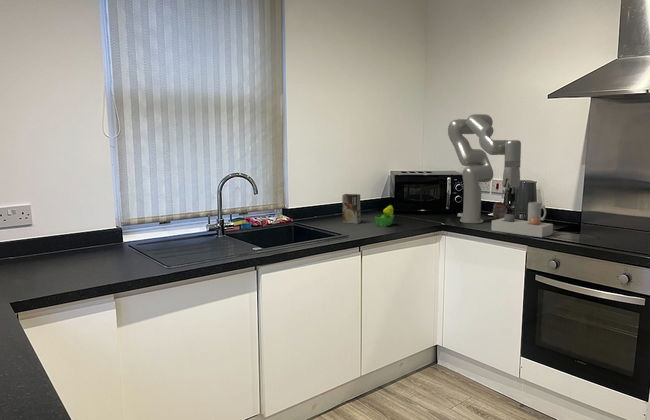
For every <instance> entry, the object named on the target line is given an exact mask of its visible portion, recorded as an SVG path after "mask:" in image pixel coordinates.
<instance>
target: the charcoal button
mask: <svg viewBox="0 0 650 420" xmlns="http://www.w3.org/2000/svg"><path fill="white" fill-rule="evenodd" d="M515 220H516V215H515V214H510V213H507V214H505V216H504V221H506V222H515Z"/></svg>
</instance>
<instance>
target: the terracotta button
mask: <svg viewBox="0 0 650 420" xmlns="http://www.w3.org/2000/svg"><path fill="white" fill-rule="evenodd" d="M540 223H541V220H540V218H538V217H529V224H531V225H540Z"/></svg>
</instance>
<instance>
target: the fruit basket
mask: <svg viewBox="0 0 650 420" xmlns="http://www.w3.org/2000/svg"><path fill="white" fill-rule="evenodd" d="M382 212H383V214H380V215H376V216H375V217H374V220H375V223H376V226H377V227H383V228H384V227H385V228H386V227H388V226H391V225H392V223H393V221H394V220H393V219H394V218H395V215H393V214H394V207H393V205H392V204H389V205H388V206H386V207H385V208H384V209H382Z"/></svg>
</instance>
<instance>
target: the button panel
mask: <svg viewBox="0 0 650 420" xmlns="http://www.w3.org/2000/svg"><path fill="white" fill-rule="evenodd" d="M490 229H491V231H492V232H493V231H494V232H501V233H508V234H514V235H515V234H516V235H523V236H529V237H537V238H544V237H548V236H551V235H553V234H554V233H553V231H554V224H553V223H549V222H548V223H546V222H540V225H531V224H529V221H528V220H524V219H515V222H506V221H504V218H501V219H493V220H491V228H490Z"/></svg>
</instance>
